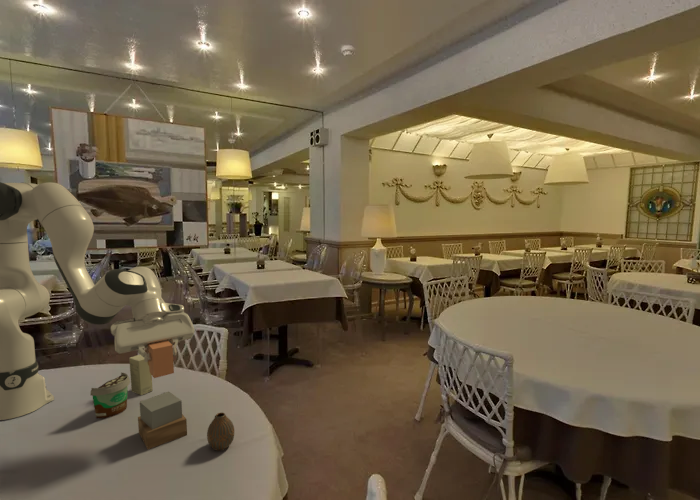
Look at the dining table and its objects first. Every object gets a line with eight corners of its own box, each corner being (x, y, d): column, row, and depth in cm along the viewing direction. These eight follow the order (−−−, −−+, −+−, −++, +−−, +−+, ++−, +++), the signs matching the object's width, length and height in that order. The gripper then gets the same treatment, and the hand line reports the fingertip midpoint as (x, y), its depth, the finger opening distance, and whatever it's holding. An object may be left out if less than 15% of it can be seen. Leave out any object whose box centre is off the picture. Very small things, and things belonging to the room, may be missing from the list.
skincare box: (153, 391, 132) (151, 357, 131) (140, 396, 128) (138, 361, 127) (143, 386, 135) (141, 353, 134) (130, 391, 132) (128, 357, 131)
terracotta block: (149, 372, 106) (148, 344, 105) (168, 367, 109) (167, 340, 108) (154, 378, 102) (152, 349, 101) (173, 373, 105) (172, 345, 104)
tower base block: (138, 433, 107) (137, 416, 107) (176, 421, 114) (175, 405, 113) (147, 450, 100) (146, 432, 99) (187, 436, 106) (186, 419, 106)
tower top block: (140, 418, 106) (139, 401, 105) (169, 407, 112) (168, 391, 111) (152, 429, 101) (151, 411, 100) (182, 417, 107) (181, 400, 106)
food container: (109, 423, 112) (107, 390, 111) (91, 420, 113) (89, 388, 112) (140, 402, 124) (138, 373, 123) (124, 400, 125) (122, 371, 124)
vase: (219, 457, 97) (218, 424, 96) (201, 448, 100) (200, 416, 99) (240, 443, 102) (239, 412, 102) (223, 435, 106) (222, 405, 105)
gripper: (110, 316, 102) (118, 362, 96) (188, 304, 115) (201, 344, 109) (108, 328, 106) (116, 373, 100) (184, 315, 119) (196, 354, 113)
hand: (161, 357), depth 104 cm, fingers closed on terracotta block, 5 cm apart
